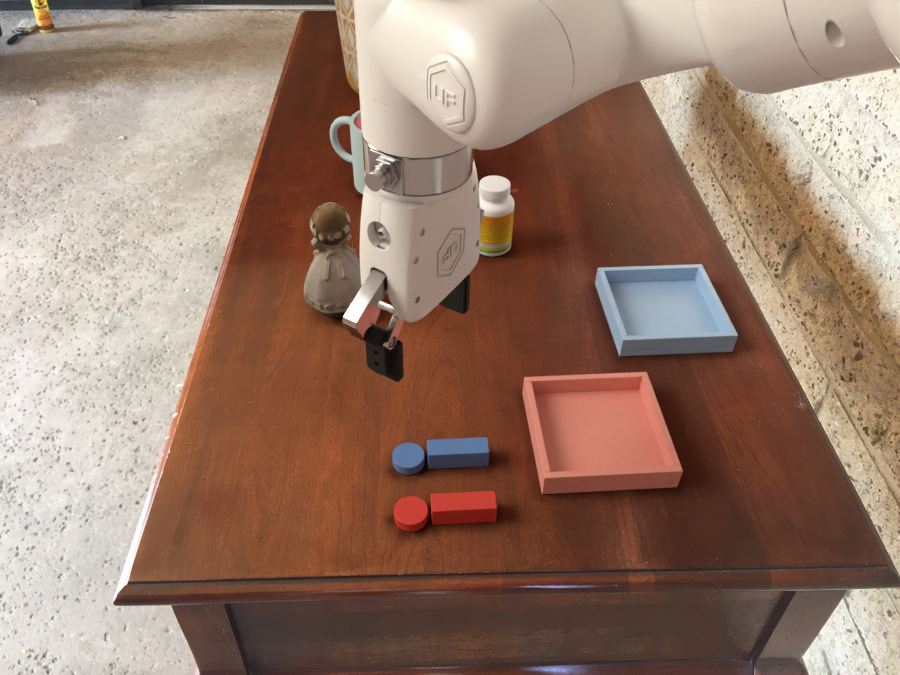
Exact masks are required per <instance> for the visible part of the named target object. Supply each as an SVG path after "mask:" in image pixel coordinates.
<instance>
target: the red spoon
mask: <svg viewBox="0 0 900 675" xmlns="http://www.w3.org/2000/svg"><path fill="white" fill-rule="evenodd" d="M497 512H498V504H497V498H496V491H495V490H482V491H481V490H479V491H462V492H443V493H440V492H439V493H431V494H430V515H431V525H432V526H439V525H459V524H477V523H494V522H497V514H498V513H497ZM428 520H429V507H428V504H427V502H426V501H425V500H424V499H423V498H421V497H419V496H416V495H406V496H403V497H402V498H400V499H399V500H397V501H396V503H395V504H394V507H393V521H394V523H395V525H396V526H397V527H398V528H399V529H400V530H401V531H404V532H407V533H408V532H409V533H414V532H417V531H420V530H421V529H423V528H424V527H426V524H427V523H428Z"/></svg>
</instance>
